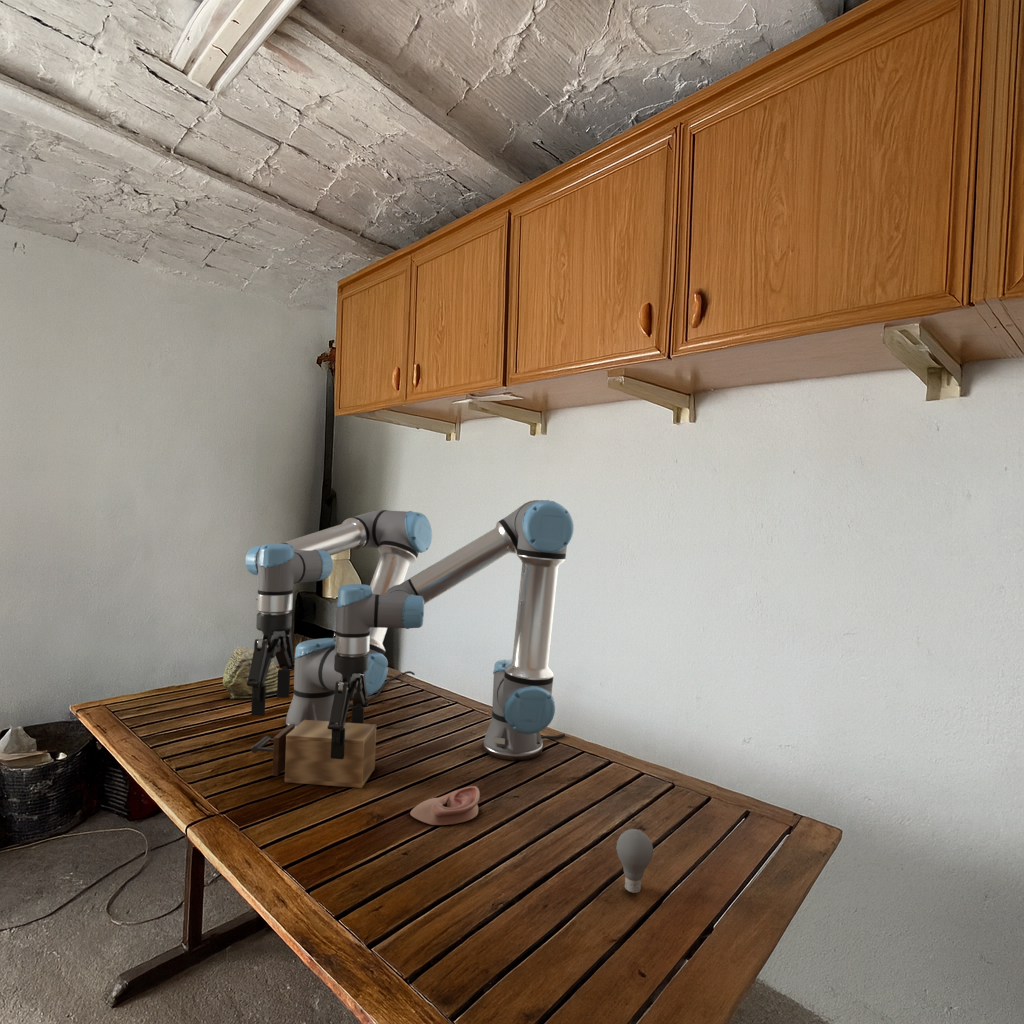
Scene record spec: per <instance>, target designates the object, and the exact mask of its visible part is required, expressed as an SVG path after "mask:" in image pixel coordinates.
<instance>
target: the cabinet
mask: <svg viewBox="0 0 1024 1024" xmlns="http://www.w3.org/2000/svg"><path fill="white" fill-rule="evenodd" d="M336 724H338V723H336ZM328 725H329V721H316V720H304V721H302V722H301V723H300V724H299V725H298V726H297V727H295V728H294V729H293V730H292V731H291V732H290V733H288V734H287V735H286V759H285V769H284V783H290V784H303V785H317V786H328V787H329V786H331V787H343V788H344V787H345V788H358V789H362V788H363V787H364V785H365V784H366V782H367V781H368V779H369V778H370V777H371V775H372V773H373V772H374V771H375V770H376V750H377V749H376V748H377V747H376V746H377V724H373V723H364V724H360V723H352V722H345V724H344V728H345V746H344V759H332V758H331V738H332V729H328V728H327V727H328Z"/></svg>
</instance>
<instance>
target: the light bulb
mask: <svg viewBox="0 0 1024 1024" xmlns="http://www.w3.org/2000/svg"><path fill="white" fill-rule="evenodd" d="M615 849H616V854H617V857H618V859H619V861H620V863H621V865H622V867H623V873H624V874H623V875H624V876H625V878H624V888H625V890H627V891H628V892H630V893H634V894H635V893H639V892H640V891H641V889H642V887H641V886H642V879H643V877H644V875H645V871H646V868H647V867H648V866H649V864H650V863H651V861H652V859H653V855H654V847H653V843H652V841H651V838H649V836H648V835H647V834H646V833H645V832H643V831H642V830H641V829H636V828H629V829H627V830H625V831H623V832H622V833H621V834H620V835H619V837H618V839H617V841H616V847H615Z"/></svg>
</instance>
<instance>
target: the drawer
mask: <svg viewBox="0 0 1024 1024" xmlns="http://www.w3.org/2000/svg"><path fill="white" fill-rule="evenodd" d="M294 728H295V724H289V725H288V726H286V727H285V728H283V729H282V730H280V732H279V733H277V734H276V735H275V736H273V738H271V737H270V736H269V735H265V736H264V737H262V739H260V740H259V741H258V742H256V743H255V744H254V745H252V746H251V748H250V751H251V753H253V754H257V753H258V752H268V753H269V752H271V753H272V772H271V773H272V774H271V775H272V776H273V777H279V776H280V775H281V774H282V772H284V771H285V759H286V735H287V734H288V733H290V732H291V731H292V730H293V729H294ZM269 743H273V745H272V747H265V746H266V745H267V744H269Z"/></svg>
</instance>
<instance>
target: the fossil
mask: <svg viewBox="0 0 1024 1024" xmlns="http://www.w3.org/2000/svg"><path fill="white" fill-rule="evenodd" d="M253 652H254V648H251V647H247V646H246V647H245V646H238V647H237V648H236V649H235V650H233V651H232V653H231V656H230V657H229V659H228V660H227V663H226V666H225V668H224V671H223V675H222V676H223V677H222V685H223V687H224V688H225V690H226V691H228V693H229V698H230V699H250V698H251V699H252V686H247V680H248V675H249V670H250V666H251V661H252V657H253ZM279 669H280V668H278V667H277V665H276V663H275V662H274V660H273V659H272V660H271V663H270V666H269V670H268V673H267V676H266V679H265V682H264V685H266V697H271V696H275V695H276V696H277V682H278V670H279Z"/></svg>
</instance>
